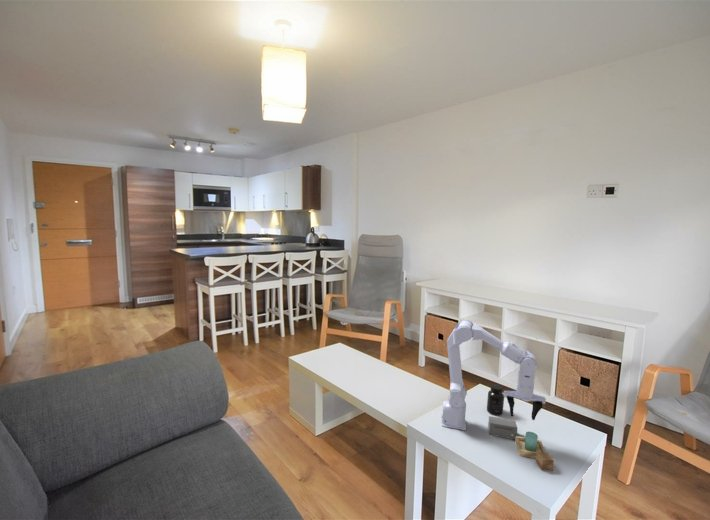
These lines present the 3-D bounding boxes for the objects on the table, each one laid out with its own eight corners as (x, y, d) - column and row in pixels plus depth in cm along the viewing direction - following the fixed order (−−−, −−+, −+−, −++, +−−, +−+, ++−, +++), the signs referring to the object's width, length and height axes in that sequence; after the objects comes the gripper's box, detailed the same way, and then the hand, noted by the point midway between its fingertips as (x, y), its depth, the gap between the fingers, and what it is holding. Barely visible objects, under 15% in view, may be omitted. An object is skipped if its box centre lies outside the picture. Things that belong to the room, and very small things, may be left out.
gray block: (489, 434, 142) (490, 423, 142) (488, 427, 147) (489, 416, 146) (517, 439, 140) (518, 427, 139) (514, 431, 144) (515, 420, 144)
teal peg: (525, 450, 132) (526, 437, 131) (523, 444, 136) (524, 430, 135) (537, 452, 131) (538, 439, 130) (535, 446, 135) (536, 432, 134)
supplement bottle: (485, 406, 163) (487, 382, 161) (500, 408, 162) (502, 383, 160) (488, 415, 156) (490, 389, 155) (504, 416, 155) (507, 391, 154)
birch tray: (519, 455, 130) (519, 450, 130) (515, 440, 139) (515, 435, 139) (546, 460, 128) (546, 455, 128) (540, 445, 137) (540, 440, 136)
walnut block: (541, 470, 123) (542, 459, 123) (535, 462, 127) (536, 452, 127) (552, 470, 123) (554, 460, 123) (546, 462, 127) (547, 452, 126)
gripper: (506, 385, 134) (503, 418, 136) (549, 392, 130) (545, 426, 132) (504, 377, 141) (501, 409, 143) (544, 383, 137) (540, 416, 139)
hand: (522, 416), depth 138 cm, fingers open, 7 cm apart
